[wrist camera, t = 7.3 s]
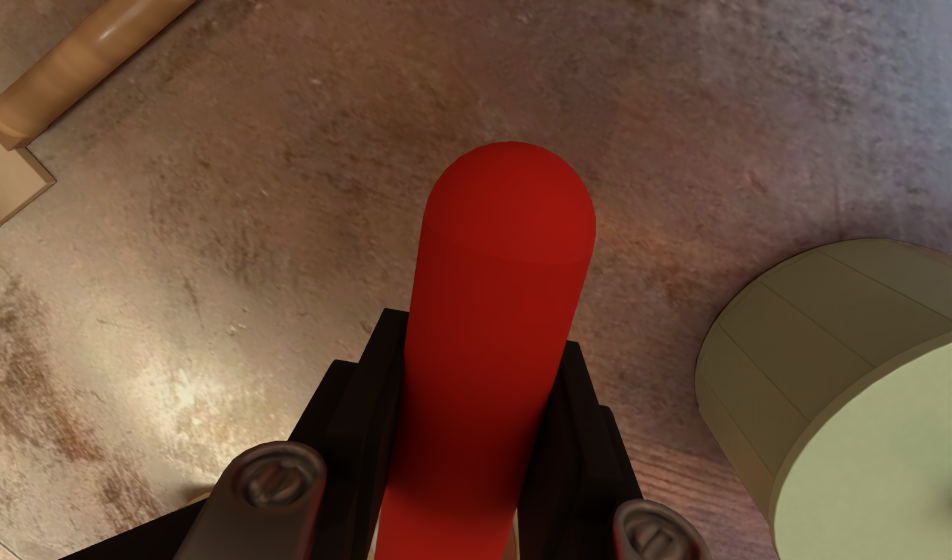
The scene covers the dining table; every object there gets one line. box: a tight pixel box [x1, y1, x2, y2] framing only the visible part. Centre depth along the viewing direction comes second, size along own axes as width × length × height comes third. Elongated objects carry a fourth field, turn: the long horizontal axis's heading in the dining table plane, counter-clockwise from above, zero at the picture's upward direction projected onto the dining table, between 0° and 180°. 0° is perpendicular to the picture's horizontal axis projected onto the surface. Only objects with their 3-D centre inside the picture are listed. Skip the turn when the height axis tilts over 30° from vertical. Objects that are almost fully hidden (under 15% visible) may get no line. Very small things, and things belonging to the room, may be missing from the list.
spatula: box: [0, 0, 196, 226], centre depth 21 cm, size 21×5×2 cm, turn 121°
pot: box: [695, 239, 952, 525], centre depth 22 cm, size 15×15×8 cm
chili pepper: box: [374, 141, 596, 560], centre depth 10 cm, size 12×3×3 cm, turn 170°
